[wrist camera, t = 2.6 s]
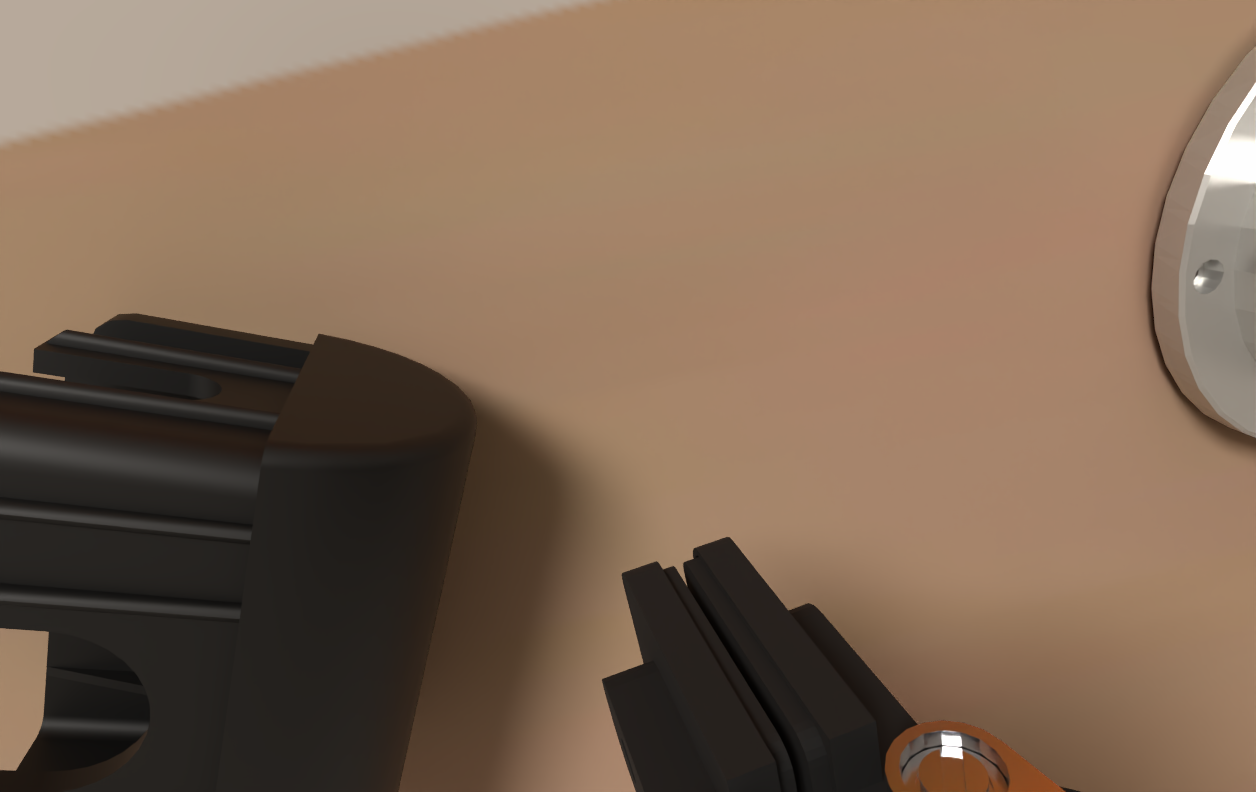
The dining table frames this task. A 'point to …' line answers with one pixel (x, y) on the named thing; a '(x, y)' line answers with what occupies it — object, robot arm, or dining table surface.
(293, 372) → the end cap
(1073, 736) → the dining table surface
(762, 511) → the dining table surface
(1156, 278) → the robot arm
